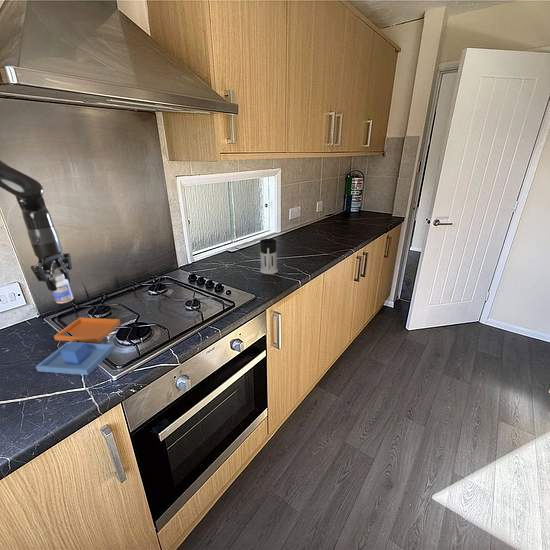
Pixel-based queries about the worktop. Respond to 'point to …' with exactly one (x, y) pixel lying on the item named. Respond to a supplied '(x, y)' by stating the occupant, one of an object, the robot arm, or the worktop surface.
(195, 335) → the worktop surface
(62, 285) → the pill bottle
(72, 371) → the blue tray
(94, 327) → the amber tray
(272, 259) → the glass holder
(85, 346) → the blue block
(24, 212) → the robot arm
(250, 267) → the worktop surface
